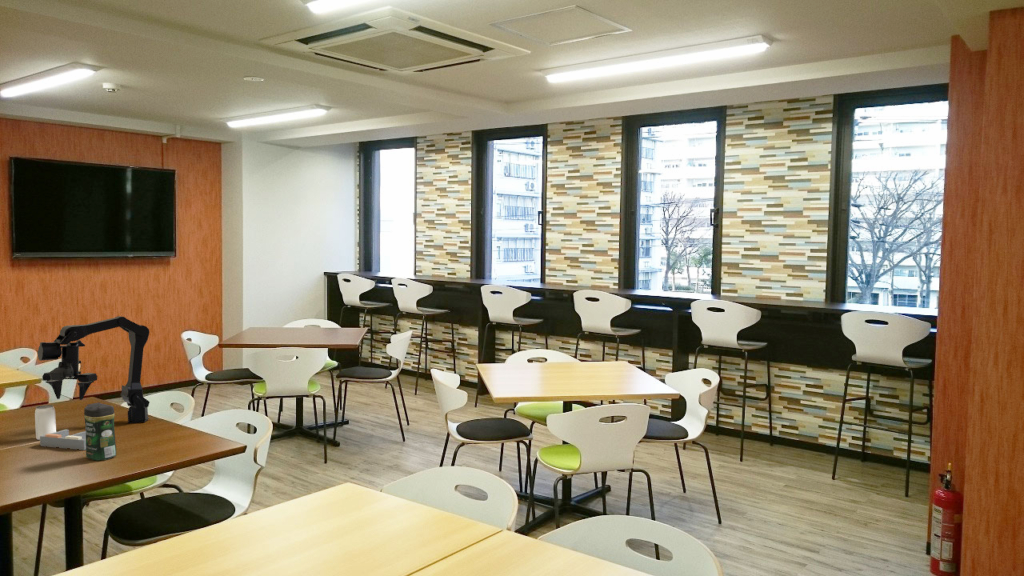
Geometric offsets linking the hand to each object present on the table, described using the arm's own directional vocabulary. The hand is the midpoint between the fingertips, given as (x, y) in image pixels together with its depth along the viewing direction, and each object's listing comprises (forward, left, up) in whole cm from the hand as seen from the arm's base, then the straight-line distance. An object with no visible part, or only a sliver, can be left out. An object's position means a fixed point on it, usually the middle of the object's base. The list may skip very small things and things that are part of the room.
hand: (69, 399), depth 284 cm
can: (+7, +5, -14) cm, 16 cm away
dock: (-8, +17, -13) cm, 23 cm away
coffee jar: (-25, +37, -14) cm, 46 cm away
